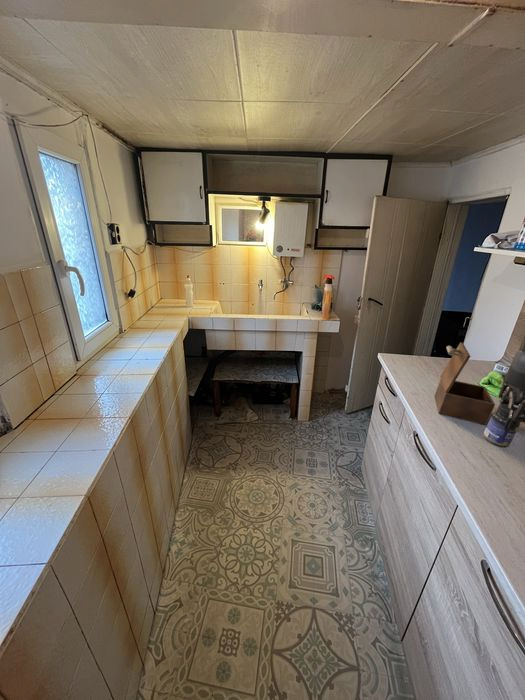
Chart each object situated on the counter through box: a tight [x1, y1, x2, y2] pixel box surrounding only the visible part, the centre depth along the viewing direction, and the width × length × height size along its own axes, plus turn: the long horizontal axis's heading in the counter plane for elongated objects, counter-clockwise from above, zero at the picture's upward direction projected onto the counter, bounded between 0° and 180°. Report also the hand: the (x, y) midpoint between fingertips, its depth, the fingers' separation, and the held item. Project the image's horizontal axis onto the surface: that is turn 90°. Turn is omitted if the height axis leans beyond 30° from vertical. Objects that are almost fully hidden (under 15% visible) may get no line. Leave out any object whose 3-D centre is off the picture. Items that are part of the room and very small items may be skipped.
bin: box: [434, 378, 496, 426], centre depth 105 cm, size 15×13×9 cm
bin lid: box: [440, 341, 471, 393], centre depth 102 cm, size 15×13×5 cm
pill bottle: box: [483, 404, 522, 449], centre depth 78 cm, size 6×6×11 cm
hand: (504, 421), depth 78 cm, fingers closed on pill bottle, 6 cm apart
